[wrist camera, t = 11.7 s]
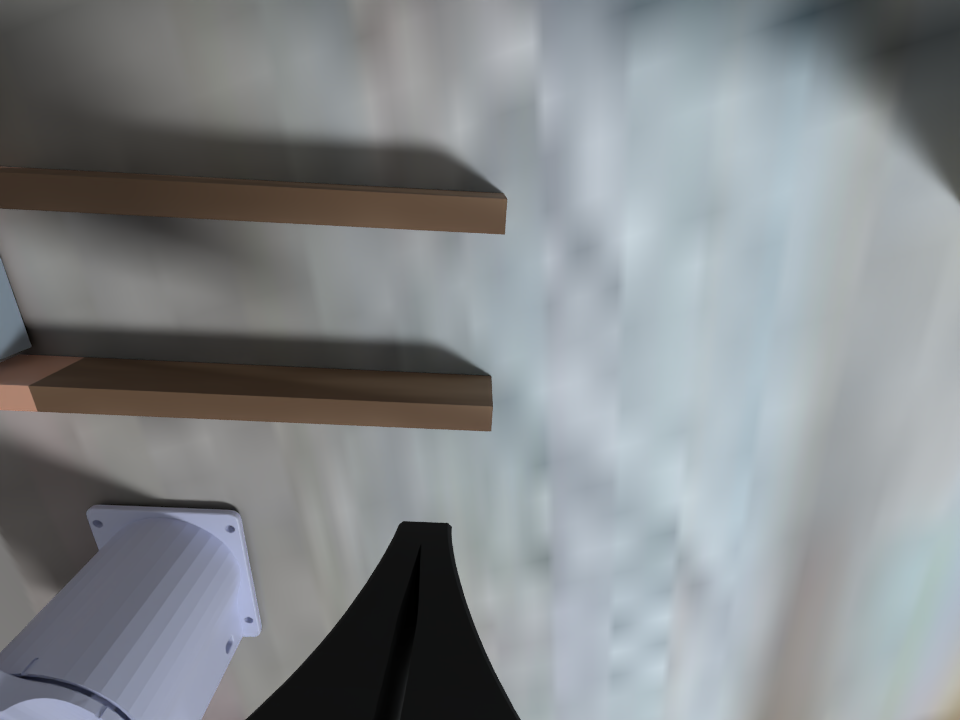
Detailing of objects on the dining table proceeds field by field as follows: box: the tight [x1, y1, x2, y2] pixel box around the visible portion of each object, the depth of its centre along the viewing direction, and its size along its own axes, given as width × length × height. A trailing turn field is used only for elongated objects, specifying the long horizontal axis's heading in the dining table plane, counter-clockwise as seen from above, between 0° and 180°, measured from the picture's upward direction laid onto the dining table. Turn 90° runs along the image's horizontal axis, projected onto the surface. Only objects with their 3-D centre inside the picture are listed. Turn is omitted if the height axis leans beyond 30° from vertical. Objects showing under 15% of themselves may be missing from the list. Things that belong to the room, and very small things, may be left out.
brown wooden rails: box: [0, 166, 507, 431], centre depth 19 cm, size 9×22×3 cm, turn 87°
